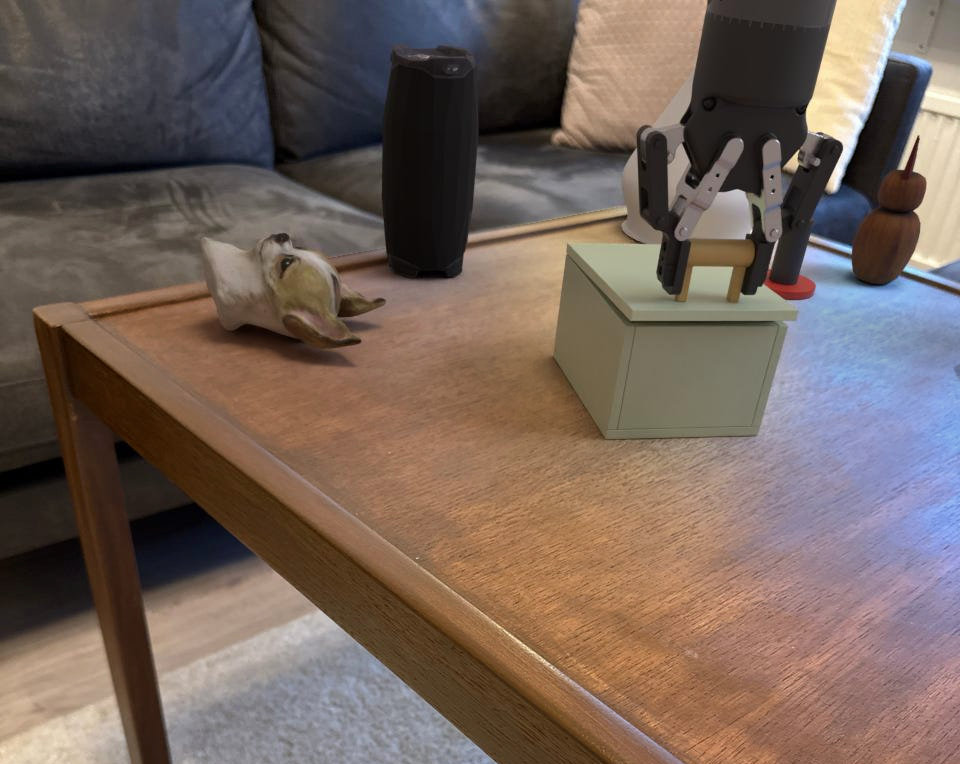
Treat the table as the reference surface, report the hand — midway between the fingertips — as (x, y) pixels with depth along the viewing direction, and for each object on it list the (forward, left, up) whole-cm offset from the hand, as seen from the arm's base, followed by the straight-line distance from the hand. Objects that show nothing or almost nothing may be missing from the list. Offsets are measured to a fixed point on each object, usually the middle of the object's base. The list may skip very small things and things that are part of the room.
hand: (708, 290), depth 70 cm
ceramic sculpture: (+12, -32, -11) cm, 36 cm away
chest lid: (-3, -5, -2) cm, 6 cm away
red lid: (-38, -12, -11) cm, 41 cm away
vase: (-45, -29, -11) cm, 55 cm away
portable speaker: (-10, -38, -11) cm, 41 cm away
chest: (-4, -5, -11) cm, 13 cm away
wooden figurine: (-50, -7, -11) cm, 51 cm away
